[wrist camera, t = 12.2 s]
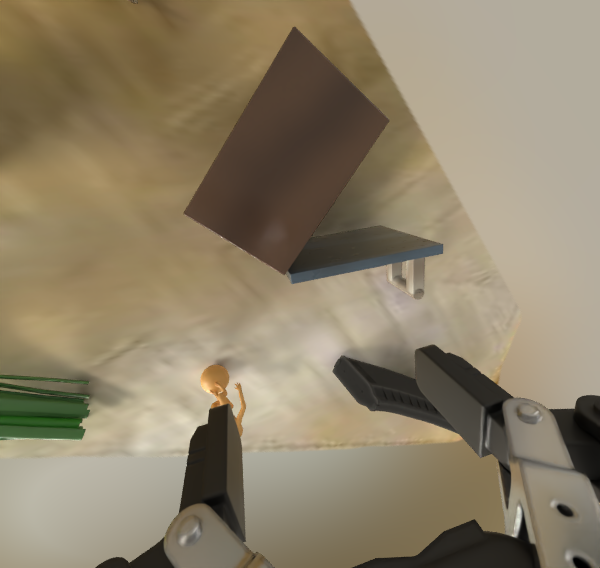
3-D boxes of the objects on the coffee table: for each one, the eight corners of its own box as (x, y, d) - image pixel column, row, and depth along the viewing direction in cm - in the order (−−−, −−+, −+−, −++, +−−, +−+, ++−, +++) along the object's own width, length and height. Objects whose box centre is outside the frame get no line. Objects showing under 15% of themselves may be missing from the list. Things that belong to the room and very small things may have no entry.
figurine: (217, 344, 43) (213, 400, 32) (253, 359, 45) (260, 417, 34) (189, 387, 45) (176, 455, 34) (225, 400, 47) (224, 468, 36)
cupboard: (335, 140, 38) (390, 120, 25) (267, 245, 40) (284, 275, 27) (270, 84, 34) (294, 25, 21) (199, 202, 37) (182, 214, 24)
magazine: (334, 400, 40) (524, 493, 41) (346, 380, 39) (538, 476, 41) (328, 347, 57) (463, 415, 58) (336, 333, 56) (472, 402, 57)
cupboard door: (381, 266, 45) (441, 299, 32) (278, 287, 42) (299, 332, 30) (380, 225, 43) (443, 244, 30) (271, 244, 40) (290, 274, 27)
